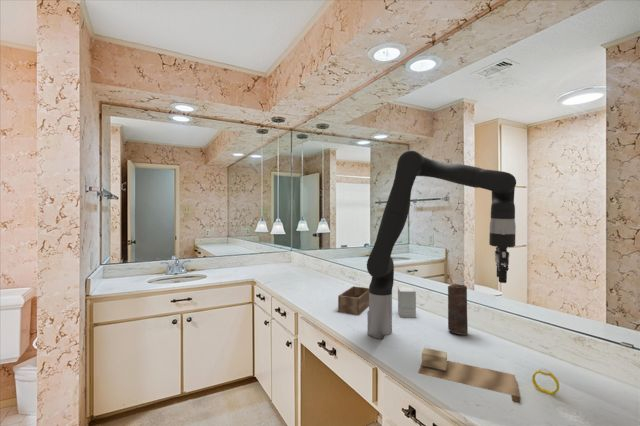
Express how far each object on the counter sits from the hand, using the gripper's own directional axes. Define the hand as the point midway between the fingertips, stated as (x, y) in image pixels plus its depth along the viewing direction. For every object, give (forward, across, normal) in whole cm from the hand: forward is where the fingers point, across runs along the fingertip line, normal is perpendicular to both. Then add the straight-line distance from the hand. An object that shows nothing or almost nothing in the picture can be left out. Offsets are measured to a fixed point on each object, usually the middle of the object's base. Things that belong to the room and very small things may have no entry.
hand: (501, 279), depth 102 cm
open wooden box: (+28, -30, -63) cm, 75 cm away
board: (+27, +18, -10) cm, 34 cm away
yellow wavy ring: (+27, +15, +10) cm, 33 cm away
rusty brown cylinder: (+28, -18, -14) cm, 36 cm away
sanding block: (+26, +18, -19) cm, 37 cm away
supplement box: (+28, -30, -37) cm, 55 cm away
